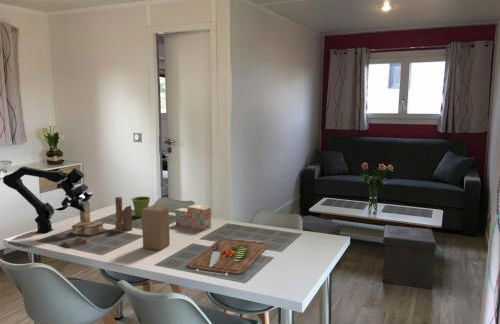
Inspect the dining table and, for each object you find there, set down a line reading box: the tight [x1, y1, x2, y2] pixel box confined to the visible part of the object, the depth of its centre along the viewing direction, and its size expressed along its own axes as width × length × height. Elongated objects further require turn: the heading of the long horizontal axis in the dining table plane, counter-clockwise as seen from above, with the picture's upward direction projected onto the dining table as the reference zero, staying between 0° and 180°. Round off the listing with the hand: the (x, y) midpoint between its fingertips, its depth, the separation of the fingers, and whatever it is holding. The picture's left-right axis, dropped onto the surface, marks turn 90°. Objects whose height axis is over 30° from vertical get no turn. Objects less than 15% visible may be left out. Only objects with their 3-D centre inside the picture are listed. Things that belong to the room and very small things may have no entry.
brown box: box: [71, 221, 104, 236], centre depth 232 cm, size 14×10×4 cm
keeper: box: [61, 236, 87, 249], centre depth 213 cm, size 8×9×2 cm
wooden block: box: [141, 204, 171, 251], centre depth 206 cm, size 10×10×20 cm
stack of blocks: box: [175, 204, 212, 231], centre depth 242 cm, size 21×6×12 cm, turn 59°
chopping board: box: [186, 237, 270, 277], centre depth 195 cm, size 45×27×3 cm, turn 161°
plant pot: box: [131, 196, 151, 218], centre depth 266 cm, size 12×12×11 cm
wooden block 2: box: [115, 196, 133, 232], centre depth 237 cm, size 4×11×18 cm, turn 54°
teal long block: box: [79, 201, 91, 223], centre depth 229 cm, size 4×4×11 cm
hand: (86, 210), depth 229 cm, fingers closed on teal long block, 4 cm apart
